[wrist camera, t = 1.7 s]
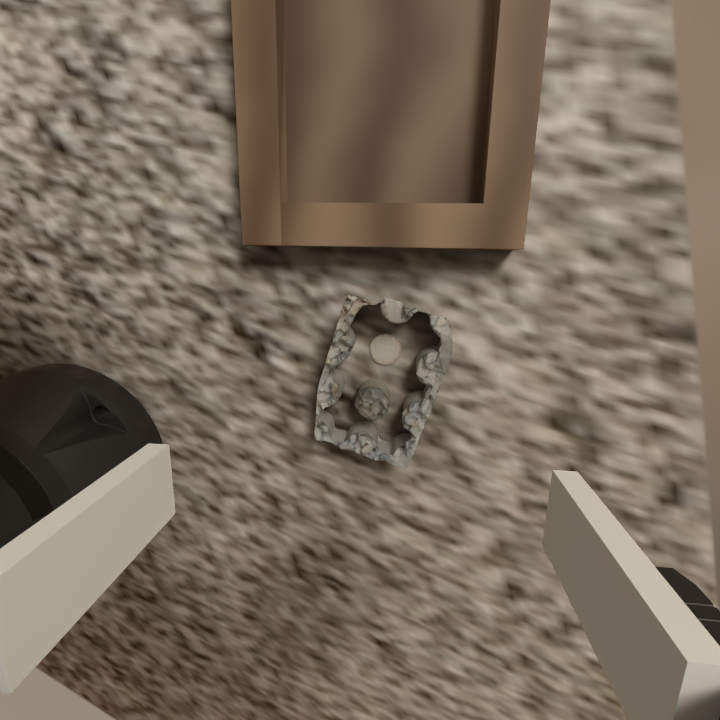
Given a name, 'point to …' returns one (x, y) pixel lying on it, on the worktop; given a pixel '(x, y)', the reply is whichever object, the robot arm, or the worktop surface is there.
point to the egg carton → (381, 384)
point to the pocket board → (387, 121)
